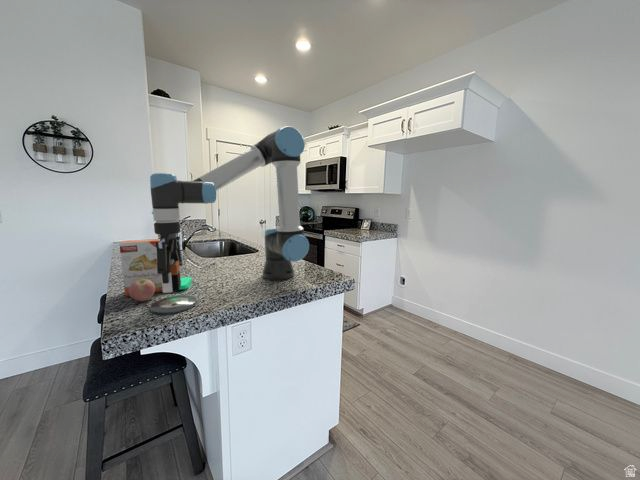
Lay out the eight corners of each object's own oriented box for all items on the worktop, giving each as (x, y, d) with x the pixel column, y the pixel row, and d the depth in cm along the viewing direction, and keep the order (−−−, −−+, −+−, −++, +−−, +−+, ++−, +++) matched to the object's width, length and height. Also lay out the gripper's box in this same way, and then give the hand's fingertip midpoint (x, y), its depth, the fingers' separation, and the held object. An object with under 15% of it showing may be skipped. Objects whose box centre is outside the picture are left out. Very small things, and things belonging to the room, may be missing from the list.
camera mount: (186, 291, 106) (184, 266, 105) (165, 293, 104) (162, 268, 103) (192, 282, 118) (190, 260, 116) (173, 284, 116) (171, 261, 114)
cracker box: (124, 297, 100) (118, 242, 97) (128, 292, 105) (122, 240, 102) (167, 291, 106) (162, 240, 103) (168, 287, 111) (163, 238, 108)
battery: (164, 292, 87) (161, 263, 85) (167, 286, 93) (164, 258, 91) (178, 291, 88) (176, 262, 87) (181, 285, 95) (178, 257, 93)
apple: (126, 305, 92) (123, 283, 91) (135, 297, 99) (133, 277, 98) (151, 303, 94) (149, 282, 92) (159, 296, 101) (157, 275, 100)
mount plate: (201, 297, 100) (201, 294, 99) (189, 312, 86) (189, 309, 86) (161, 299, 97) (161, 296, 97) (142, 315, 84) (142, 312, 83)
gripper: (167, 219, 96) (172, 279, 100) (139, 224, 77) (146, 299, 80) (189, 219, 98) (193, 278, 101) (166, 224, 78) (173, 298, 81)
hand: (172, 287), depth 91 cm, fingers closed on battery, 7 cm apart
